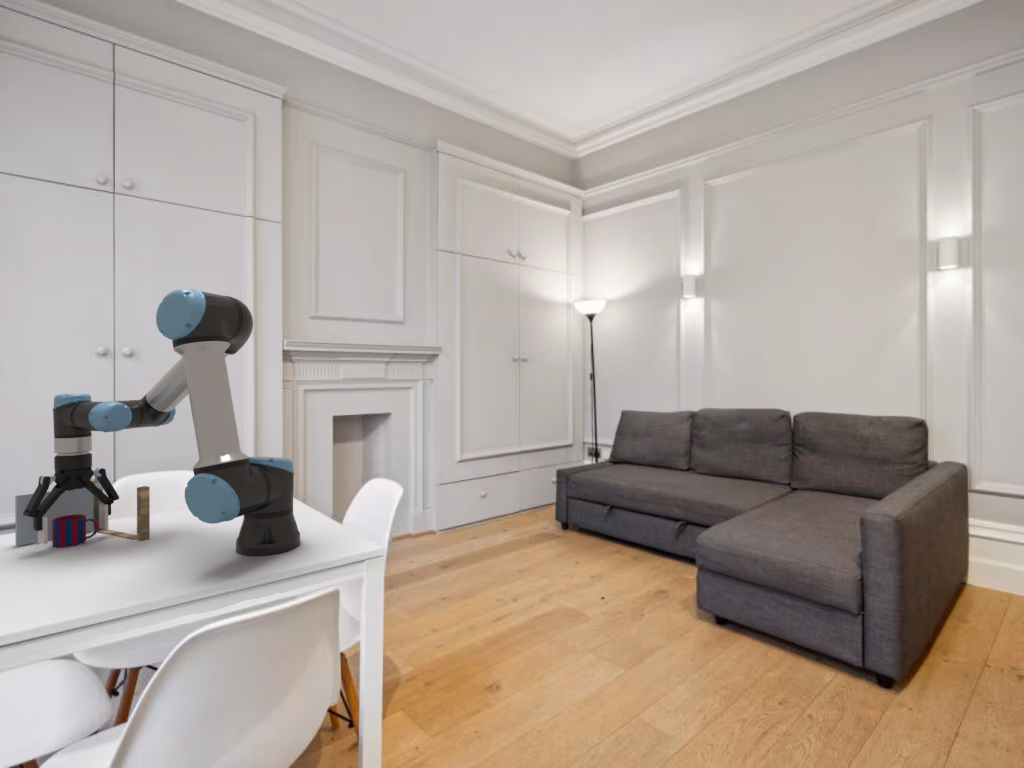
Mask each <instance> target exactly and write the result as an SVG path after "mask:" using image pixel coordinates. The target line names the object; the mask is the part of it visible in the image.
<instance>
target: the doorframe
mask: <svg viewBox="0 0 1024 768" xmlns="http://www.w3.org/2000/svg"><path fill="white" fill-rule="evenodd" d="M90 481H92V482H93V483H94V484H95V486H96V487H97V488H99V489H100V490H101V491H102V492H103V493H104V489H103V487H102V486H101V484H100V483H99V481H98V479H97V477H95V476H94V478H91V479H90ZM150 496H151V495H150V486H147V485H143V486H138V487H136V534H133V533H129V532H123V531H119V530H114V529H109V528H108V529H101V528H99V504H103V503H102V502H101V501H100V500H99V499H98V498H97V497H95V496H94V495H93V519H95V520H96V521H97V523H98V531H97V533H99V534H105V535H110V536H115V537H120V538H124V539H129V540H133V541H134V540H137V541H141V542H143V541H146V540H150V539H151V538H150V534H151V533H150V531H151V529H150V518H151V517H150V513H151V512H150V511H151V510H150V507H151V506H150V504H151V502H150V499H151V498H150ZM94 530H95V525H94V523H93V531H94Z"/></svg>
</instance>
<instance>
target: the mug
mask: <svg viewBox="0 0 1024 768" xmlns="http://www.w3.org/2000/svg"><path fill="white" fill-rule="evenodd" d="M87 521H92V522H93V523H94V525H95V530H93V532H92V534H90V535H88V536H87V532H86V522H87ZM97 531H98V523H97V521H96V520H95V519H86V515H84V514H73V515H65V516H60V517H57V518H54V519H52V539H51V540H52V541H51V542H52V543H51V545H52V547H53V548H57V549H58V548H69V547H75V546H78V545H82V544H84V543H86V541H87V539H91V538H92V537H94V536H96V534H97V533H98V532H97Z"/></svg>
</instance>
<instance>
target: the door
mask: <svg viewBox="0 0 1024 768" xmlns="http://www.w3.org/2000/svg"><path fill="white" fill-rule="evenodd" d="M51 491H52V489H51V490H47V492H46V494H45V496H44V498H43V500H42V501H41V503H42V502H43V501H44V499H45V498H46V497H47V496H48V495H49V494H50V492H51ZM33 494H34V492H30V493H23V494H15V497H14V501H15V502H14V503H15V506H14V507H15V508H14V512H15V513H14V514H15V519H14V521H15V522H14V523H15V524H14V525H15V527H14V528H15V532H14V533H15V546H16V547H18V546H23V545H27V544H33V543H34V544H35V543H38V531H35V530H34V529H33V517H28V516H24V515H23V512H24V511H25V509H26V507H27V505H28V503H29V501H30V500H31V498H32V496H33ZM41 503H40V504H41ZM73 514H84V515H86V519H93V494H92V493H91V492H90V491H88V490H87V489H86V488H84V487H83V489H74V490H71V491H67V490H66V491H65V492H64V493H63V494H61V495H60V497H59V498H58V499H57V500H56V501H55V503H54V504H53V505H52V506H51V507H50V509H49V510H48V511H47V512H46V513H45V515H44V516H45V517H47V525H48V541H50V540H52V519H54V518H57V517H60V516H65V515H73ZM89 532H94V530H93V522H92V521H87V522H86V533H89Z"/></svg>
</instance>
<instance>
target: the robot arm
mask: <svg viewBox="0 0 1024 768" xmlns="http://www.w3.org/2000/svg"><path fill="white" fill-rule="evenodd" d="M155 316H156V317H155V322H156V327H157V330H158V331H159V333H161V334H162V336H163V337H165V338H167V339H169V340H171V341H172V342H171V343H172V347H173V351H174V352H175V353H176V354H179V355H180V356H181V358H180V359H179V360H178V361H177V362H176V363H175V364H174V365H173V366H172V367H171V368H170V369H169V370H168V371H167V372H166V373H165V374H164V376H163V377H161V379H159V381H158V382H156V383H155V385H154V386H153V387H152V388H151V389H150V390H149V391H148V392H147V393H146V394H145V395H144V396H142V398H140V399H133V400H132V399H131V400H130V399H129V400H110V401H108V400H107V401H93V400H92V397H91V394H89V393H59V394H56V395H55V396H54V398H53V408H52V416H53V421H52V422H53V452H54V454H56V455H55V456H54V461H53V463H54V464H53V465H54V466H53V467H54V475H51V476H49V475H47V476H46V475H40V476H39V478H38V485H37V486H36V489H35V491H34V492H33V493H34V494H33V496H32V498H31V500H30V501H29V503H28V505H27V507H26V509H25V511H24V512H23V515H24V516H28V517H33V529H34V530H35V531H38V542H37V543H38V544H42V545H46V544H48V543H49V540H48V525H47V517H45V516H44V515H45V513H46V512H47V511H48V510H49V509H50V507H51V506H52V505H53V504H54V503H55V501H56V500H57V499H58V498H59V497H60V495H61V494H63V493H64V492H65V491H66V490H67V491H71V490H74V489H83V487H84V488H86V489H87V490H88V491H90V492H91V493H92V494H93V495H94V496H95V497H97V498H98V499H99V500H100V501H101V502H102V503H103V504H99V528H101V529H109V516H111V515H112V505H113V504H114V503H115V501H118V500H119V499H120V495H119V494H118V492H117V491H116V489H115V488H114V486H113V484H112V483H111V481H110V479H109V478H108V476H107V472H106V469H105V468H104V467H103V468H102V467H96V468H95V469H92V467H93V454H92V453H91V451H92V450H93V441H92V439H93V437H92V436H93V435H92V432H104V433H110V432H111V433H113V432H114V433H115V432H120V431H123V430H130V429H138V428H139V429H140V428H149V427H150V428H151V427H152V428H153V427H154V428H156V427H160V426H165V425H168V424H170V423H171V422H173V420H174V418H175V415H176V407H177V406H178V405H179V404H181V402H182V401H183V400H184V399H185V398H186V397H187V396H188V398H189V404H190V409H191V415H192V417H191V418H192V422H193V427H194V433H195V440H196V445H197V446H196V447H197V452H198V458H199V459H198V460H197V461H196V463H195V464H194V466H193V467H192V469H193V476H192V477H191V478H190V479H189V480H188V482H187V483H186V485H187V486H186V487H185V488H184V501H185V504H186V506H187V508H188V510H189V511H190V513H191V514H192V516H194V517H195V518H197V519H198V520H199V521H201V522H203V523H206V524H211V525H212V524H214V525H215V524H220V523H222V522H223V523H225V522H230V521H232V520H234V519H236V518H239V517H242V516H243V519H242V522H241V526H240V529H239V533H238V536H237V538H236V540H235V552H237V553H238V554H240V555H244V556H245V555H246V556H267V555H274V554H280V553H284V552H287V551H290V550H293V549H296V548H297V547H298V546H300V544H301V532H300V531H299V528H298V525H297V521H296V518H295V516H294V475H295V472H294V464H293V461H292V460H291V458H287V457H278V456H277V457H276V456H274V457H273V456H248V455H247V454H246V453H244V452H242V450H241V444H240V439H239V432H238V428H237V426H238V425H237V421H236V416H235V414H236V413H235V409H234V403H233V402H234V401H233V397H232V392H231V391H232V390H231V386H230V379H229V374H228V367H227V362H226V358H227V357H228V356H230V355H231V356H233V355H235V354H236V353H238V352H239V351H240V350H241V349H242V347H244V345H245V344H247V341H248V340H249V339H250V337H251V335H252V332H253V329H254V318H253V315H252V312H251V311H250V309H249V308H248V306H247V305H246V304H245V303H244V302H243V301H242V300H239V299H238V298H235V297H233V296H229V295H222V294H216V293H211V292H207V291H206V292H205V291H201V290H199V289H185V288H179V289H178V288H177V289H174V290H172V291H170V292H169V293H167V294H166V295H165V296H164V297H163V298H162V301H161V302H159V305H158V307H157V310H156V314H155ZM93 476H94V478H95V477H97V479H98V481H99V483H100V484H101V486H102V487H103V492H102V491H101V490H100V489H99V488H97V487H96V486H95V484H94V483H93V482H92V481H90V479H93ZM53 482H54V483H55V485H54V486H53V488H52V489H51V490H52V491H51V490H50V491H51V492H50V494H49V495H48V496H47V497H46V498H45V499H44V501H43V502H42V503H41V501H42V500H43V498H44V496H45V494H46V492H47V491H49V488H50V485H52V484H53ZM104 492H105V493H104ZM40 503H41V504H40Z"/></svg>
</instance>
